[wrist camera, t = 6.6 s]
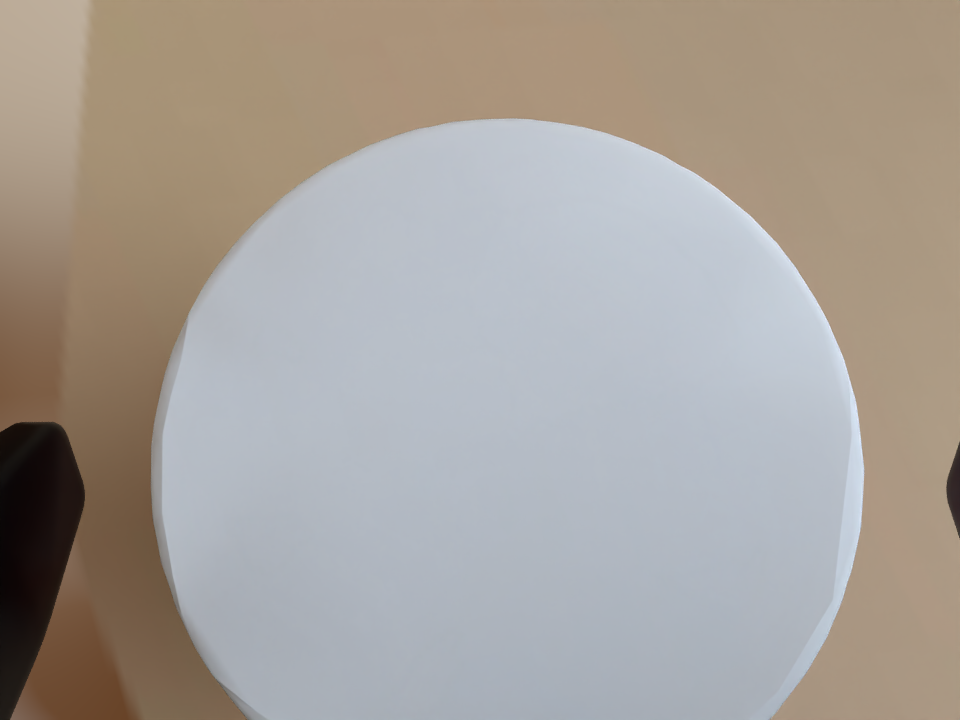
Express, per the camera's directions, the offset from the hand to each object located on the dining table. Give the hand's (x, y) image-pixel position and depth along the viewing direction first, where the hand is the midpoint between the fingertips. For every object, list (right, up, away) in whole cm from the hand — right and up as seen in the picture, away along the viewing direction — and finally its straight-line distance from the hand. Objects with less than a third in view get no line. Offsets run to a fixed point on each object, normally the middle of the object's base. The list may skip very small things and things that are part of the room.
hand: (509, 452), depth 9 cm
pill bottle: (0, -2, +8) cm, 8 cm away
